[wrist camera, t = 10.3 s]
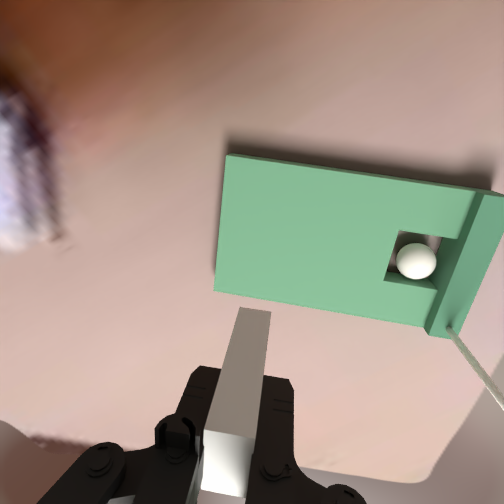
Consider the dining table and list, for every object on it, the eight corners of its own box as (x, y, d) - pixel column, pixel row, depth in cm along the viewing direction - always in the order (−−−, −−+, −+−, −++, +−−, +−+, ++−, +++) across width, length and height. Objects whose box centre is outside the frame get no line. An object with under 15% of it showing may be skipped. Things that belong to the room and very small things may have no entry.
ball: (442, 247, 33) (439, 248, 37) (401, 238, 35) (401, 240, 39) (431, 285, 34) (429, 282, 37) (391, 274, 35) (392, 272, 39)
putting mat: (231, 153, 36) (173, 177, 19) (491, 190, 34) (684, 255, 17) (219, 279, 42) (166, 384, 25) (439, 318, 40) (544, 459, 23)
